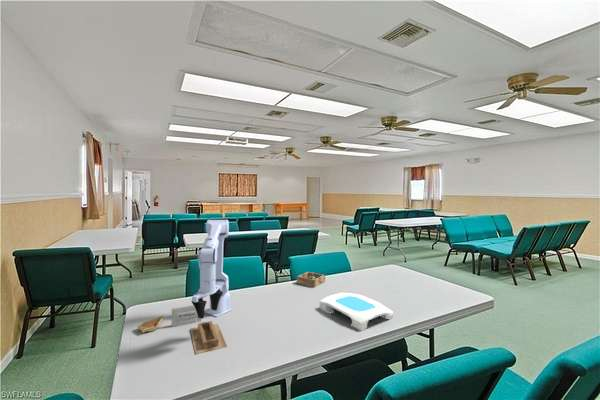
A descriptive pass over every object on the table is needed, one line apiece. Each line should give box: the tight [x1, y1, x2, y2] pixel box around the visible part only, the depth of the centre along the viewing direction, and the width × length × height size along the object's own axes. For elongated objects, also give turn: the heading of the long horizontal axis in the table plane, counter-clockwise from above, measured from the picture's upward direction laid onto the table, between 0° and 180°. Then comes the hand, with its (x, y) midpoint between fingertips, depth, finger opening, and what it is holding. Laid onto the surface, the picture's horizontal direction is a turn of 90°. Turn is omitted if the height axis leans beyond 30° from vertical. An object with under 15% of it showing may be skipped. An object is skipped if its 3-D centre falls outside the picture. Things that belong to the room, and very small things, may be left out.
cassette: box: [171, 304, 202, 328], centre depth 121 cm, size 12×2×8 cm, turn 117°
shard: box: [136, 315, 164, 334], centre depth 118 cm, size 11×8×2 cm
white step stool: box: [319, 292, 394, 331], centre depth 131 cm, size 21×28×6 cm
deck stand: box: [296, 271, 326, 288], centre depth 176 cm, size 13×13×5 cm
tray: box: [190, 320, 228, 356], centre depth 109 cm, size 11×20×3 cm, turn 26°
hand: (207, 313), depth 109 cm, fingers open, 7 cm apart
